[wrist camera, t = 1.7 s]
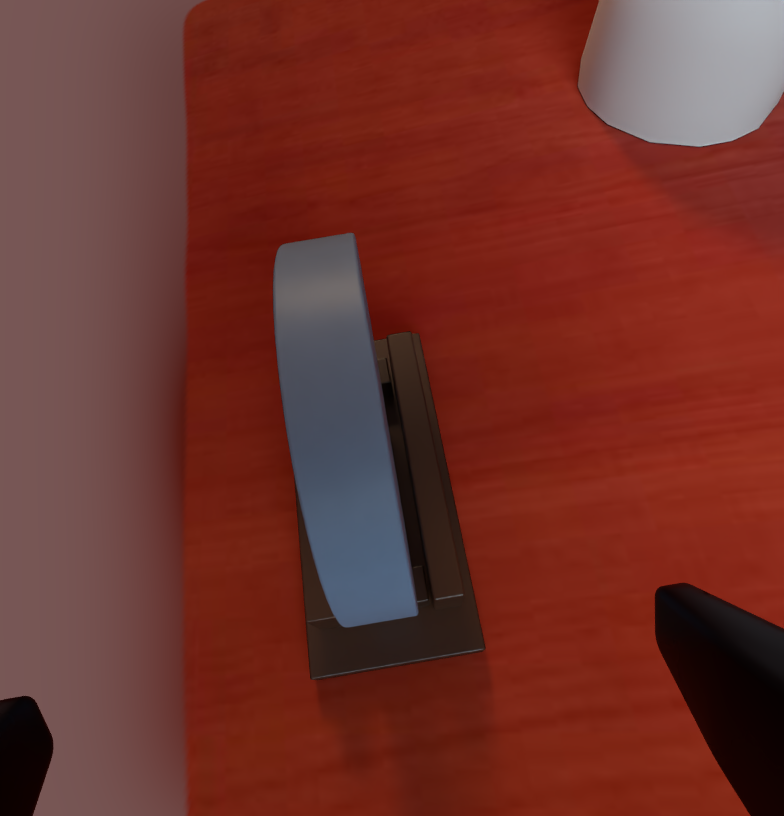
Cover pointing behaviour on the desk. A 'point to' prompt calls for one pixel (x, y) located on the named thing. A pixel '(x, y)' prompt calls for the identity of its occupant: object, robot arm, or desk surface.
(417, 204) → the desk surface
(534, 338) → the desk surface
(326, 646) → the rack
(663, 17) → the teardrop
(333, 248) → the disc
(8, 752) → the robot arm
